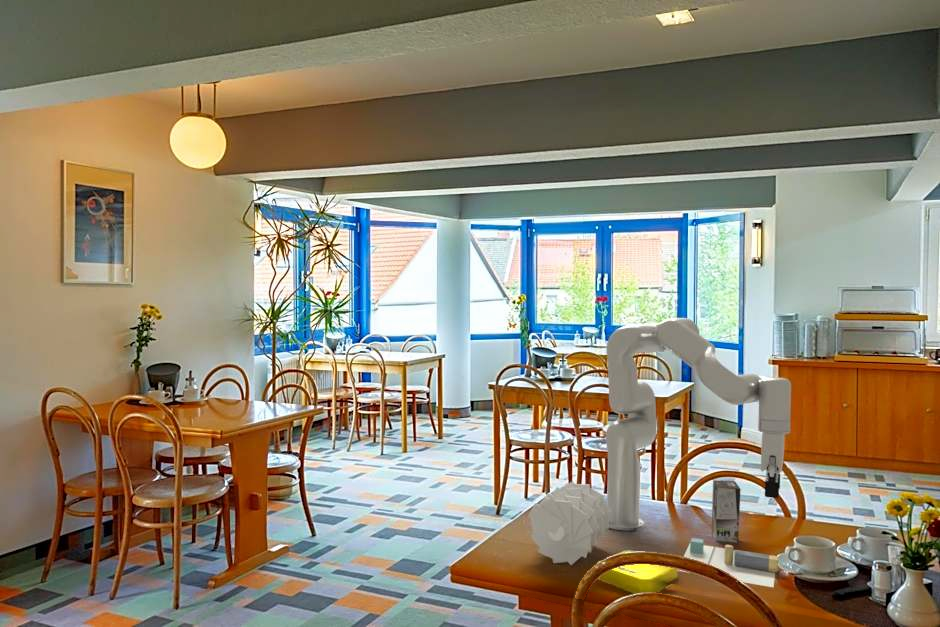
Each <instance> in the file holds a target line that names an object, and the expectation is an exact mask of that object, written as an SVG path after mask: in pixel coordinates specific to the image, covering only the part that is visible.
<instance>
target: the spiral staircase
mask: <svg viewBox="0 0 940 627" xmlns="http://www.w3.org/2000/svg"><path fill="white" fill-rule="evenodd" d="M604 497H605V495H604V494H602V493H600V492H599V491H598V490H595V489H594V488H592V487H591V485H590V484H587V483H584V484H583V483H581V484H580V483H575V482H574V481H572V480H571V481H570V482H568V483H567V484H565V485H563V486H562V487H559V486H556V487H555V489H554V491H553V493H552V494H551V493H550V492H547V493H546V496H544V498H543V499H542V500H541V502H540V504H538V503H537V502H535V503H534V504H533V507H532V508H531V509H530V512H529V514H528V515H527V517H528V518H529V519H530V523H531V527H532V532H531V533H530V535H529V536H530V537H531V539H532V540H533V541H534V542H535V544H536V545H537V546H538V548H539V549H538V552H537V553H538V554H541V555H544V556H545V557H547V558H550V559H552V563H553V564H560V563H568V564H569V565H570V566H572V565H573V564H575V563H576V562H577V561H578V560H579V559H580V558H585V559H586V558H587V557H588V553H590V554H591V553H592V550H593V549H594V547H596V546H597V540H599V541H601V540H602V536H604V537H606V534H607V529H608V530H609V529H610V528H609V516H608V514H609V513H610V512H611V511H610V509H609V508H608V506H607V502H606V501H605V499H604Z"/></svg>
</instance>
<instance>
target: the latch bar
mask: <svg viewBox="0 0 940 627" xmlns="http://www.w3.org/2000/svg"><path fill="white" fill-rule="evenodd" d="M735 550H736V551H735V559H734V565H736V566H742V567H748V568H754V569H760V570H766V571H771V572H775V573H778V571H779V556H778V555H772V554H771V555H770V554H764V553H757V552H754V551H753V552H752V551H746V550H739V549H735Z"/></svg>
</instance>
